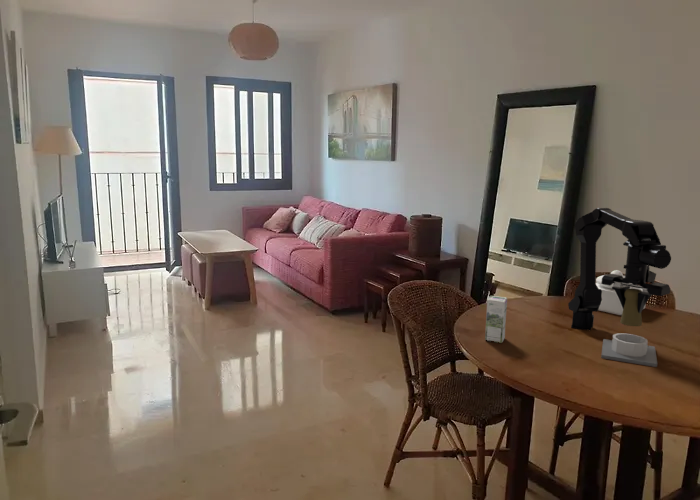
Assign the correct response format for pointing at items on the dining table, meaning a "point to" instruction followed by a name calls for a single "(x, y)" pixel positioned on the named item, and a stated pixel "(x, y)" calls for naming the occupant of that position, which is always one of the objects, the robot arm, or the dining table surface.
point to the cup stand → (629, 349)
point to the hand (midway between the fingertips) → (632, 311)
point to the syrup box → (496, 319)
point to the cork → (631, 309)
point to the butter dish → (611, 296)
